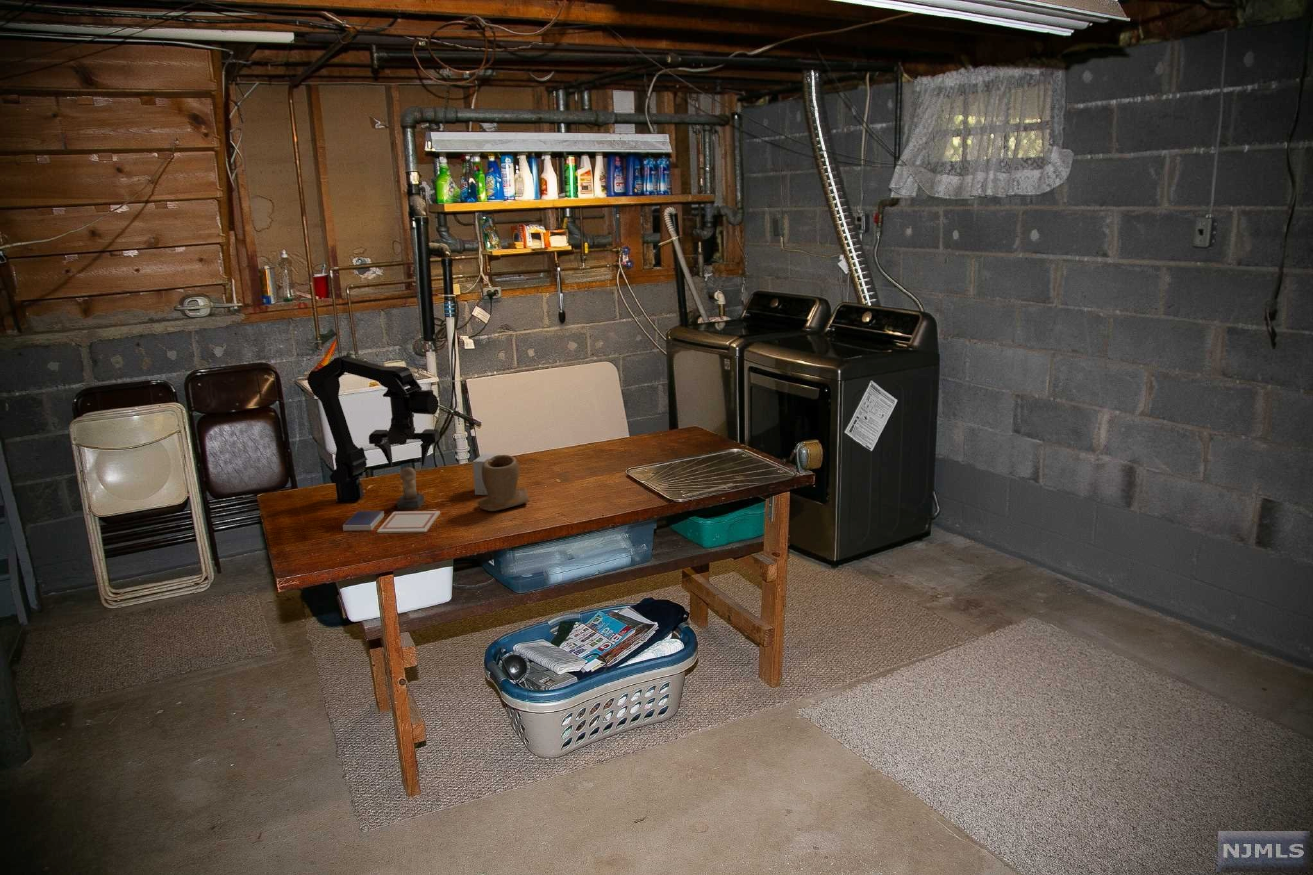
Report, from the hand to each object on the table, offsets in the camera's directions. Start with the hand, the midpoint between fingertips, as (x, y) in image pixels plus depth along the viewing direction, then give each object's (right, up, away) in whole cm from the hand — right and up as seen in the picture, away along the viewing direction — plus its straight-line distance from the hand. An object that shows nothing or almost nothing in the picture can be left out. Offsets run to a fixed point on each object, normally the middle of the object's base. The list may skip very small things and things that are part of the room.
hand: (407, 465), depth 258 cm
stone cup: (+28, -12, 0) cm, 31 cm away
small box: (+21, -8, +14) cm, 26 cm away
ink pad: (-9, -15, -10) cm, 20 cm away
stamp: (0, -12, +3) cm, 12 cm away
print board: (+3, -15, -10) cm, 19 cm away
